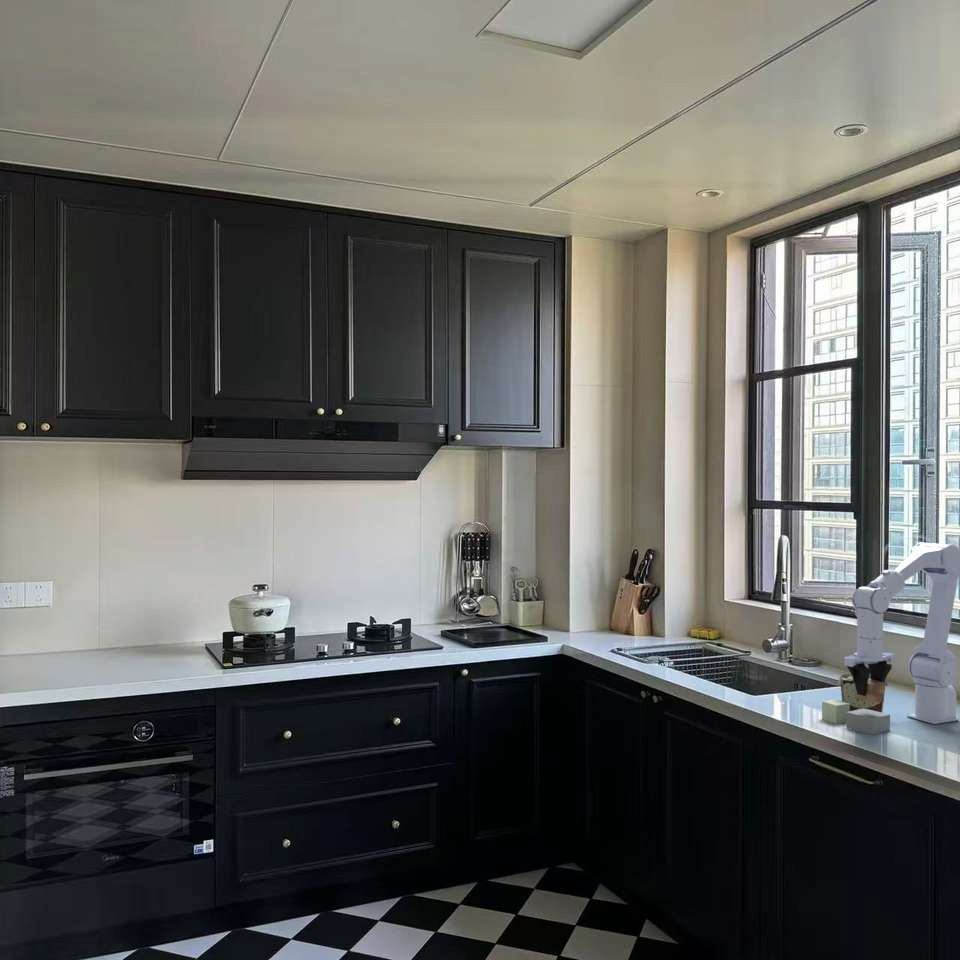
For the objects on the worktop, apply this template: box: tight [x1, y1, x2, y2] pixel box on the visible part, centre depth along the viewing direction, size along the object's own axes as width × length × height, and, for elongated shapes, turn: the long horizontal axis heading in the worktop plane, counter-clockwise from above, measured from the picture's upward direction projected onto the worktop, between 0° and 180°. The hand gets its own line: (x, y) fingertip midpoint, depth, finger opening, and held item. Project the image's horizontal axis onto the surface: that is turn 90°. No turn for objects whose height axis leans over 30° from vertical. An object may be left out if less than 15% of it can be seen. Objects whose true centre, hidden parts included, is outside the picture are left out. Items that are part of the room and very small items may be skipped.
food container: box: [837, 672, 889, 713], centre depth 232 cm, size 12×6×10 cm, turn 92°
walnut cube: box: [855, 679, 885, 703], centre depth 218 cm, size 4×4×4 cm
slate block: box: [845, 708, 891, 736], centre depth 218 cm, size 7×7×4 cm
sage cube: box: [821, 699, 850, 724], centre depth 226 cm, size 4×4×4 cm
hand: (869, 693), depth 218 cm, fingers closed on walnut cube, 4 cm apart
